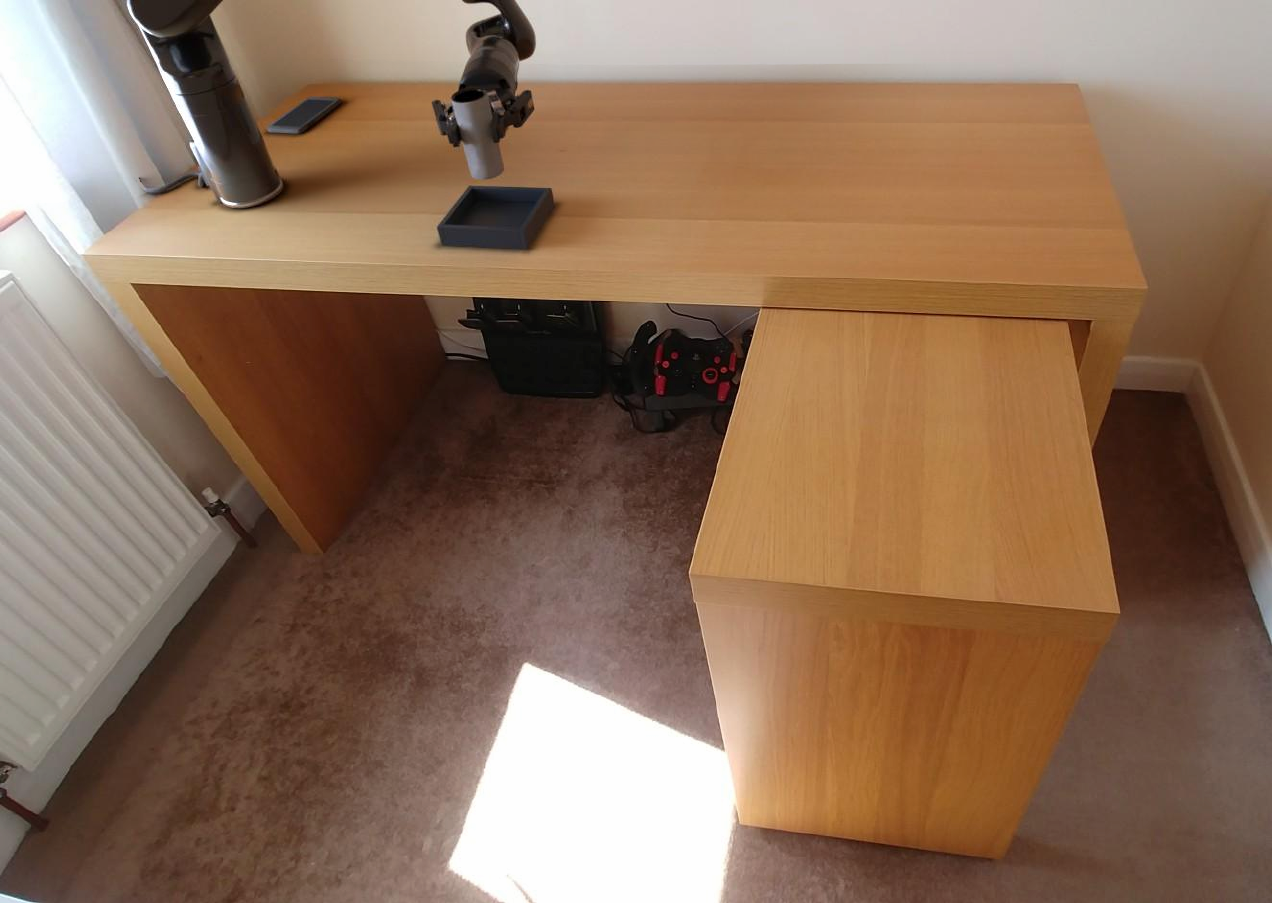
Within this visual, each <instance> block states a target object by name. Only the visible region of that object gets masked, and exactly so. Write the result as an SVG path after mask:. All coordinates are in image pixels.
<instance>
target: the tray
mask: <svg viewBox="0 0 1272 903" xmlns="http://www.w3.org/2000/svg"><path fill="white" fill-rule="evenodd" d="M555 207H556V205H555V198H554V195H553V189H552V187H534V186H533V187H532V186H531V187H529V186H528V187H527V186H500V185H499V186H494V185H468V187H467V188H465V190H464V191H463V193H462V194H461V195H460V197H459V198H458V199H457V201H456V202H455V203H454V204H453V205H452V207H451V208H450V209H449V210H448V212H447V213H446V214H445V216H444V217H443V218H442V219H441V220H440V222H439V223H438V224H437V225H436V230H437V233H438V237H439V240H440V243H441V246H445V247H446V246H447V247H466V248H467V247H468V248H485V249H486V248H487V249H507V250H509V249H510V250H527V251H528V250H529V249H530V247H531V246H532V244H533V243H534V240H535V239H536V237H537V236H538V235H539V232H540V231H541V229H542V227H543V226H544V224H545V223H546V221H547V220H548V218H549V216H550V214H551V213H552V211H553V210H554V208H555Z"/></svg>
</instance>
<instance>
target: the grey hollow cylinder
mask: <svg viewBox="0 0 1272 903" xmlns="http://www.w3.org/2000/svg"><path fill="white" fill-rule="evenodd" d="M450 101H451V103H452V105H453V109H454V113H455V116H456V120H457V124H458V128H459V132H460V135H461V139H462V141H461V144H462V146H463V150H464V155H465V158H466V162H467V165H468V169H469V173H470V176H471V177H472V178H473V179H475V180H478V181H479V180H480V181H487V180H492V179H495V178H497V177H500V176H501V175H502V174H504V171H505V165H504V164H505V163H504V160H503V156H502V152H501V147H500V143H494V142H493V138H492V134H491V129H490V126H491V122H492V118H493V116H492V112H491V107H490V103H489V99H488V94H487V91H486V90H485V89H483V88H479V87H471V88H465V89H462V90H459V91H458V90H457V91H455V92H454V93H453V94H452V95H451V97H450Z"/></svg>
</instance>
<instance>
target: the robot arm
mask: <svg viewBox="0 0 1272 903" xmlns="http://www.w3.org/2000/svg"><path fill="white" fill-rule="evenodd" d="M223 1H224V0H124V3H125V6H126V9H127V11H128V13H129V14H130V15H131V17H132V19H133V20H134V21H135V23H136V24H137V26H138V28H139V30H140V32H141V34H142V36H143V38H144V40H145V42H146V44H147V46H148V48H149V50H150V53H151V56H152V57H153V59H154V62H155V65H156V67H157V69H158V71H159V73H160V75H161V78H162V80H163V82H164V84H165V85H166V88H167V90H168V92H169V93H170V97H171V98H172V100H173V102H174V104H175V106H176V108H177V110H178V112H179V114H180V116H181V118H182V120H183V123H184V124H185V126H186V129H187V130H188V132H189V133H188V134H190V138H192V140H191V141H190V142H189V146H190V149H191V150H192V153H193V155H194V156H195V158H196V161H197V162H198V166H197V169H198V171H193V172H188V173H186V174H184V175H181V176H179V177H178V178H176V179H174V180H172V181H171V182H169V183H166V184H165V185H162V186H158V187H147V186H146V187H147V188H146V189H144V190H143V191H144V192H145V193H149V194H155V193H157V194H158V193H161V192H164V191H168V190H169V189H171V188H173V187H176V186H177V185H178V184H181V183H183V182H184V181H187V180H189V179H192V178H194V177H195V178H196V177H198V180H197V182H198V183H197V185H198V187H199V188H203V187H204V185H206V186H207V187H209V188H210V189H211V191H212V193H213V195H214V197H215V200H216V201H217V203H222V204H223V205H224V206H226V207H228V208H232V209H245V208H250V207H255V206H259V205H261V204H264V203H267V202H269V201H271V200H272V199H274V198H275V197H277V196H278V195H280V194H281V192H282V191H283V189H284V183H283V180H282V179H281V177H280V174H279V171H278V169H277V167H276V165H275V164H274V161H273V159H272V157H271V154H270V152H269V149H268V147H267V145H266V142H265V140H264V138H263V136H262V132H261V131H260V128H259V126H258V124H257V121H256V119H255V117H254V115H253V114H254V113H253V111H252V110H251V107H250V105H249V102H248V100H247V98H246V95H245V93H244V91H243V88H242V86H241V84H240V81H239V79H238V77H237V74H236V72H235V70H234V67H233V64H232V63H231V61H230V60H231V59H230V58H229V55H228V54H227V51H226V48H225V46H224V44H223V42H222V40H221V36H220V35H219V32H218V31H217V28H216V26H215V24H214V20H213V19H212V16H211V14H212V13H213V12H214V11H215V10H216V9H217V8H218V7H219V5H221V3H222V2H223ZM461 1H462V2H463V3H464V4H466V5H477V4H490V5H491V6H493V7H495V8H496V9H497V10H498V11H499V13H497V14H495V15H492V16H489V17H486V18H484V19H480V20H477V21H476V22H474V23H472V24H471V25H470V26H469V27H468V28H467V30H466V31H465V43H466V44H465V45H466V48H467V51H468V54H469V56H470V57H468V60H467V61H466V64H465V66H464V68H463V72H462V75H461V77H460V81H459V84H458V87H457V88H458V89H457V91H459V90H462V89H465V88H471V87H479V88H483V89H485V90H486V91H487V94H488V99H489V103H490V107H491V112H492V116H493V118H492V122H491V126H490V129H491V134H492V138H493V142H494V143H499V144H500V142H501V140H502V139H504V138H505V137H506V135H507V134H506V132H507V131H508V130H509V127H511V126H512V127H513V128H515V129H519V128H521V127H523V126H524V124H525V123H526V122H527V120H528V119H529V118H530V116H531V115H532V114H533V112H534V111H535V110H536V108H535V104H534V103H535V102H534V98H533V93H532V90H531V89H526V90H523V91H522V92H521V93H520V94H516V93H517V90H518V75H519V74H518V73H519V70H520V62H523V61H524V60H525V61H526V60H528V59H529V58H531V57H533V55H534V53H535V51H536V46H537V36H536V32H535V29H534V27H533V26H532V23H531V22H530V20H529V19H528V17H527V15H526V14H525V13H524V11H523V10H522V8H521V6H520V5H519V3H518V2H517V1H516V0H461ZM441 101H442V100H440V99H434V100H432V101H431V106H432V109H433V113H434V116H435V121H436V124H437V126H438V130H439V133H440V135H441V136H447V140H448V143H449V144H450V145H452V146H453V148H460V146H461V144H462V139H461V135H460V132H459V128H458V124H457V120H456V116H455V113H454V109H453V105H452V102H450V103H449V102H448V103H445V102H441Z"/></svg>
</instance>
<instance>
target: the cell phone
mask: <svg viewBox="0 0 1272 903" xmlns="http://www.w3.org/2000/svg"><path fill="white" fill-rule="evenodd" d="M341 104H342V99H341V98H340V97H332V96H331V97H330V96H329V97H328V96H307V97H306V98H305V99H304V100H302V101H300V102H299V103H297V104H296V105H295V106H294V107H293V108H291V109H290V110H288V111H286V113H284V114H283V115H281V116H280V117H279V118H276V120H274V121H273V122H271V123H270V124H269V125H267V127H266V130H267V132H268V133H277V134H279V133H280V134H302V133H303V132H305V131H306V130H308V129H309V128H311V126H313V125H314V124H316V123H317V122H318V121H320V120H321V119H322V118H323V117H325V116H326V115H327V114H329V113H330V112H331V111H333V110H334V109H335V108H337V107H338V106H339V105H341Z"/></svg>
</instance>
